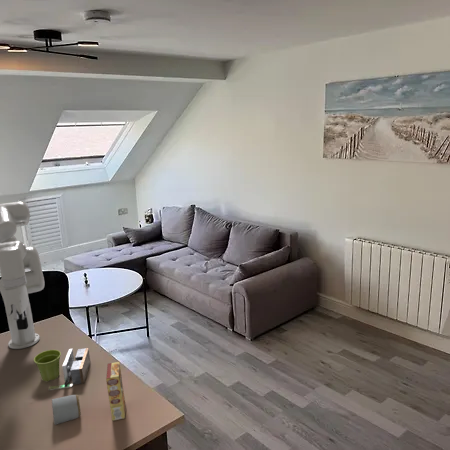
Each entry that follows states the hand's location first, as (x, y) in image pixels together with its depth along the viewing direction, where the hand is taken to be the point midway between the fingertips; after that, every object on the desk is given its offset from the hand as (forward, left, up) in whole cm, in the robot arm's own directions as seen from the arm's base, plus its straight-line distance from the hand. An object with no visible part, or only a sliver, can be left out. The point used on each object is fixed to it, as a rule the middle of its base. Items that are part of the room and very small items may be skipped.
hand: (23, 328), depth 151 cm
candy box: (+26, +34, -21) cm, 48 cm away
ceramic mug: (+25, +17, -21) cm, 37 cm away
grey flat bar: (+1, +15, -20) cm, 26 cm away
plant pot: (0, +7, -21) cm, 22 cm away
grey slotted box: (0, +14, -21) cm, 25 cm away
